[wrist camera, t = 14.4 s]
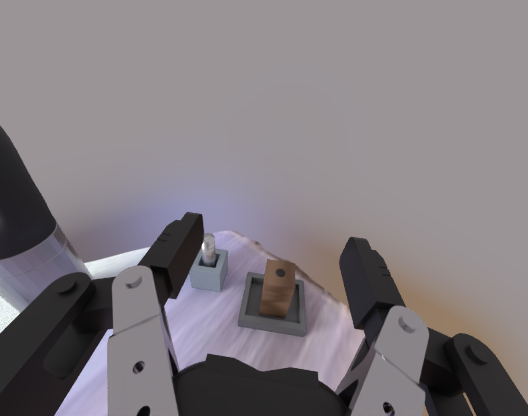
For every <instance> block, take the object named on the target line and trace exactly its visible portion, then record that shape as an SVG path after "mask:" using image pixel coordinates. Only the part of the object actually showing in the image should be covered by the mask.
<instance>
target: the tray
mask: <svg viewBox="0 0 528 416" xmlns="http://www.w3.org/2000/svg"><path fill="white" fill-rule="evenodd" d="M264 276H265V275H263V274H257V273H250V272H248V275H247V280H246V285H245V290H244V295H243V299H242V304H241V309H240V314H239V319H238V326H240V327H246V328H252V329H259V330H265V331H271V332H277V333H283V334H289V335H295V336H301V337H303V336H304V334H305V332H306V315H305V298H304V281H302V280H295V290H294V293H293V296H292V299H291V302H290V305H289V308H288V311H287V314H286V317H285V319H284V318H278V317H272V316H266V315H260V314H259V311H260V303H261V295H262V288H263V282H264Z"/></svg>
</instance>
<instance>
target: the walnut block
mask: <svg viewBox="0 0 528 416" xmlns="http://www.w3.org/2000/svg"><path fill="white" fill-rule="evenodd" d="M294 290H295V264H294V263H288V262H282V261H275V260H269V259H267V264H266V270H265V276H264V282H263V288H262V295H261V303H260V311H259V314H260V315H266V316H272V317H278V318H284V319H285V317H286V314H287V311H288V308H289V305H290V302H291V299H292V296H293V293H294Z"/></svg>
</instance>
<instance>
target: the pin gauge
mask: <svg viewBox="0 0 528 416" xmlns="http://www.w3.org/2000/svg"><path fill="white" fill-rule="evenodd" d="M201 252H202V261H203V266H205V267H211V268H215V267H216V255H215V238H214V235H212V234H210V233H207V234H204V241H203V244H202V247H201Z"/></svg>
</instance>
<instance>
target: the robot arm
mask: <svg viewBox="0 0 528 416" xmlns="http://www.w3.org/2000/svg"><path fill="white" fill-rule="evenodd" d="M203 241H204V228H203V217H202V214H198V213H190V212H187V213H186V214H185V215H184V217H183V218H182V219H181V221H180V220H175V221H173V222H172V223H171V224H169V225H168V226H167V227H166V228H165V229H164V231H163V232H162V234H161V235H160V236H159V237H158V238H157V241H155V242H154V244H153V245H152V246H151V248H150V249H149V250H148V252H147V253H146V254H145V256H144V257H143V258H142V260H141V261H140V262H139V264H138V265H137V266H133V267H130V268H128V269H126V270H124V271H122V272H121V273H120V274H119V275H118V276H117V277H110V278H103V279H95V280H94V279H93V277H92V276H91V274H90V272H89V271H88V269H87V268H86V266H85V265H84V263H83V262H82V260H81V259H80V257H79V256H78V254H77V252H76V251H75V249H74V248H73V246H72V245H71V243H70V242H69V240H68V239H67V237H66V236H65V234H64V233H63V231H62V230H61V228H60V226H59V225H58V223H57V222H56V220H55V219H54V217H53V216H52V214H51V212H50V210H49V208H48V206H47V204H46V203H45V200H44V198H43V196H42V195H41V193H40V192H39V190H38V188H37V187H36V185H35V183H34V182H33V180H32V178H31V176H30V174H29V173H28V171H27V169H26V167H25V165H24V163H23V161H22V159H21V158H20V156H19V154H18V152H17V150H16V148H15V147H14V145H13V143H12V141H11V140H10V138H9V137H8V135H7V134H6V132H5V131H4V130H3V128H2V127H1V126H0V296H1V297H2V298H3V299H4V300H6V301H7V302H8V303H9V304H10V305H12V306H13V307H14V308H15V309H16V310H17V311H19V312H20V314H19V315H18V316H17V317H16V318H15V319H14V320H13V321H12V322H11V323H10V324H9V325H8V326H7V327H6V328H5V329H4V330H3V331H2V332H1V333H0V416H54V415H55V413H56V412H57V410H58V409H59V407H60V405H61V404H62V402H63V401H64V399H65V397H66V396H67V394H68V392H69V391H70V389H71V388H72V386H73V384H74V383H75V381H76V380H77V378H78V376H79V375H80V373H81V372H82V370H83V368H84V367H85V365H86V364H87V362H88V360H89V359H90V357H91V356H92V354H93V352H94V351H95V349H96V347H97V346H98V344H99V343H100V341H101V339H102V338H103V336H104V335H105V333H106V331H107V330H108V329H113V335H112V336H110V337H109V339H108V345H107V365H108V416H422V413H423V407H424V403H425V406H426V409H427V412H428V414H429V416H473V414H472V412H471V410H470V408H469V405H468V403H467V401H466V399H465V397H464V395H463V393H466V395H467V397H468V399H469V401H470V403H471V405H472V407H473V409H474V411H475V413H476V415H477V416H528V404H527V403H526V401H525V400H524V398H523V397H522V395H521V394H520V392H519V391H518V389H517V388H516V386H515V385H514V383H513V382H512V380H511V378H510V377H509V375H508V374H507V372H506V371H505V369H504V368H503V366H502V365H501V363H500V361H499V360H498V358H497V357H496V356H495V354H494V353H493V352H492V351H491V350H490V349H489V348H488V347H487V346H486V345H485V344H483V343H482V342H481V341H479V340H478V339H476V338H474V337H472V336H470V335H468V334H463V333H459V334H457V335H455V336H453V337H452V338H451V337H448V336H446V335H444V334H441V333H439V332H437V331H435V330H433V329H430V328H428V327H427V326H426V324H425V323H424V321H423V320H422V319H421V318H420V317H419V316H418V315H417V314H416V313H415V312H413V311H412V310H410V309H408V308H406V306H405V304H404V302H403V299H402V298H401V295H400V293H399V291H398V289H397V287H396V285H395V283H394V280H393V278H392V277H391V275H390V272H389V270H388V269H387V266H386V264H385V261H384V259H383V258H382V257H381V256H380V255H379V254H378V252H377V251H376V250H371V247H370V245H369V243H368V241H367V240H366V239H363V238H356V237H350V238H349V240H348V242H347V244H346V246H345V248H344V250H343V252H342V254H341V256H340V262H339V264H340V270H341V274H342V278H343V282H344V287H345V291H346V295H347V299H348V303H349V308H350V312H351V316H352V320H353V324H354V328H355V329H360V330H364V333H365V337H364V339H363V340H362V342H361V344H360V347H359V349H358V351H357V353H356V355H355V357H354V359H353V361H352V363H351V365H350V367H349V369H348V371H347V373H346V375H345V377H344V378H343V380H342V381H341V382H340V384H339V386H338V387H337V389H336V391H335V392H334V391H333V390H331V389H330V388H329V387H328V386H326V385H325V384H323V383H322V382H320V381H318V372H316V371H310V370H303V369H297V368H291V367H289V368H283V369H277V370H271V371H265V372H262V371H258V370H256V369H255V368H253V367H251V366H249V365H247V364H245V363H243V362H241V361H239V360H237V359H235V358H231V357H225V356H219V355H213V354H207V357H206V361H203V362H199V363H196V364H193V365H191V366H188V367H186V368H185V369H183V370H181V371H179V366H178V362H177V358H176V354H175V351H174V347H173V343H172V339H171V334H170V330H169V325H168V321H167V316H166V312H165V307H164V305H165V303H166V302H167V300H168V298H171V299H176V298H177V296H178V294H179V292H180V290H181V288H182V286H183V284H184V282H185V280H186V278H187V276H188V274H189V272H190V269H191V267H192V265H193V263H194V261H195V259H196V257H197V255H198V253H199V251H200V249H201V247H202V244H203Z"/></svg>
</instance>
